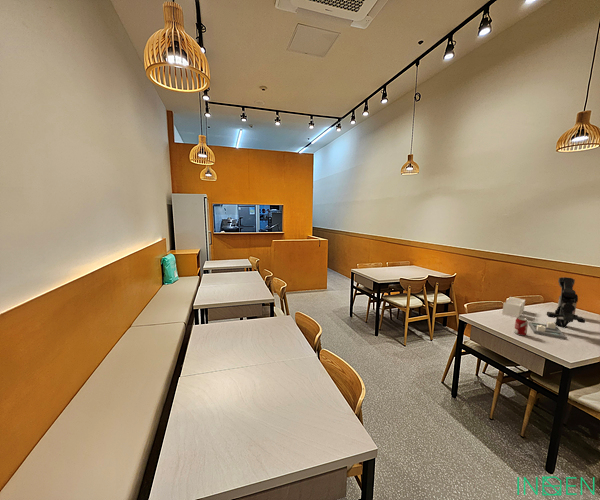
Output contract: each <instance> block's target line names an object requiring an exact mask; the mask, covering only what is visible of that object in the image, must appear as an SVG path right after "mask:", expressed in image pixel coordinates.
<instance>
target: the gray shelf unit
mask: <svg viewBox="0 0 600 500" xmlns="http://www.w3.org/2000/svg"><path fill="white" fill-rule="evenodd" d="M537 325H542V326H545V327H546V326H547V324H544V323H539V322H538V323H537V322H534V321H528V327H529V328H530V330H532V332H533V334H535V335H541V336H545V337H550V338H556V339H561V340H566V336H565V334H564V333H563V332H562V331H561V330H560V328H559V326H556V327H555V329H554V328H549V327H546V329H545V332H542V331H537V330H536V329H537Z"/></svg>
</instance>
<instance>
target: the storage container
mask: <svg viewBox="0 0 600 500" xmlns="http://www.w3.org/2000/svg"><path fill="white" fill-rule="evenodd" d="M525 305H526V299H523V298H519V297H513V296H509V298H507V299H506V300H505V302H504V301H503V305H502V313H501V314H502V315H504V316H508V317H511V318H512V317H513V318H516V319H517V317H521V315H522V314H523V313H524V311H525Z"/></svg>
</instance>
